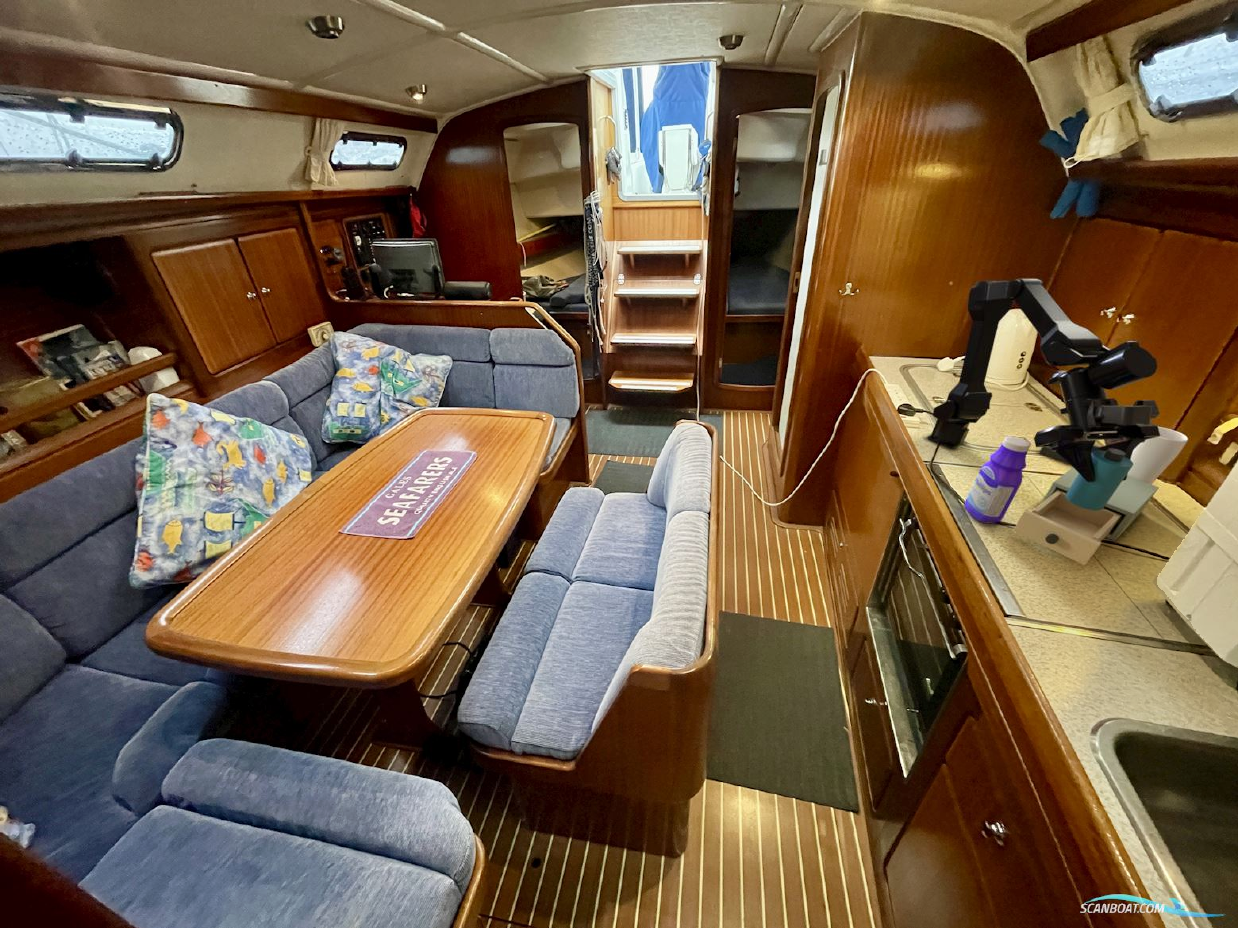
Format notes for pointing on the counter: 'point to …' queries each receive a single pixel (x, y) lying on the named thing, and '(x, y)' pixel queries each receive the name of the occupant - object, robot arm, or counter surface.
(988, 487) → the bottle
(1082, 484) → the soap bottle
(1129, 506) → the cabinet
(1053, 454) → the tray
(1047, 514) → the drawer
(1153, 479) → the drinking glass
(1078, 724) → the counter surface
